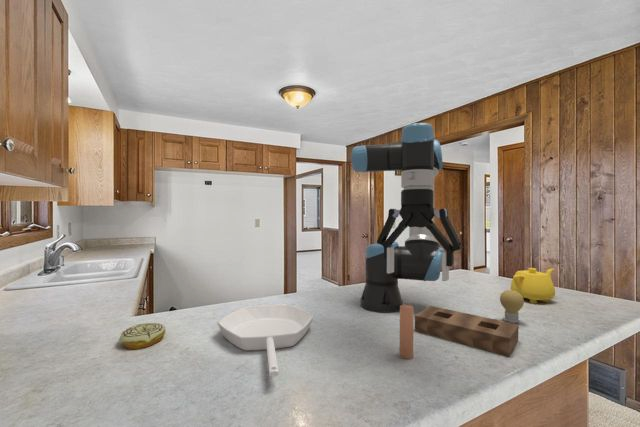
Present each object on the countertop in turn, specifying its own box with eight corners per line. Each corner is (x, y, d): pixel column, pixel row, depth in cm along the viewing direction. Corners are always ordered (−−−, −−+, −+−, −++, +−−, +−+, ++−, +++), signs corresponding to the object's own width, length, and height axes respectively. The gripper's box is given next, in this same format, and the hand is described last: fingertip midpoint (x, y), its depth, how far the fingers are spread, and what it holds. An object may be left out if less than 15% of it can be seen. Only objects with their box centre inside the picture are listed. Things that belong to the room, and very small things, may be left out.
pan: (307, 315, 103) (307, 302, 103) (341, 383, 63) (341, 362, 63) (221, 321, 98) (221, 307, 97) (199, 401, 57) (199, 377, 57)
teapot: (570, 302, 118) (570, 270, 117) (529, 306, 112) (529, 273, 112) (536, 293, 130) (537, 264, 130) (499, 296, 125) (499, 266, 125)
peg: (397, 356, 74) (397, 307, 74) (403, 351, 77) (403, 303, 77) (409, 360, 72) (410, 309, 72) (415, 355, 75) (415, 306, 74)
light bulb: (527, 326, 93) (527, 293, 93) (504, 324, 95) (504, 292, 94) (518, 319, 100) (518, 288, 99) (496, 317, 101) (497, 287, 101)
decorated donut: (110, 351, 77) (110, 336, 77) (133, 334, 88) (133, 321, 88) (153, 350, 78) (153, 335, 78) (171, 333, 88) (171, 320, 88)
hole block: (414, 330, 90) (414, 315, 90) (430, 319, 99) (430, 305, 99) (509, 357, 74) (510, 338, 74) (518, 340, 83) (518, 324, 83)
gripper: (364, 190, 79) (363, 272, 79) (469, 185, 64) (468, 287, 64) (377, 191, 85) (377, 267, 85) (476, 187, 70) (476, 280, 70)
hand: (416, 276), depth 75 cm, fingers open, 13 cm apart
